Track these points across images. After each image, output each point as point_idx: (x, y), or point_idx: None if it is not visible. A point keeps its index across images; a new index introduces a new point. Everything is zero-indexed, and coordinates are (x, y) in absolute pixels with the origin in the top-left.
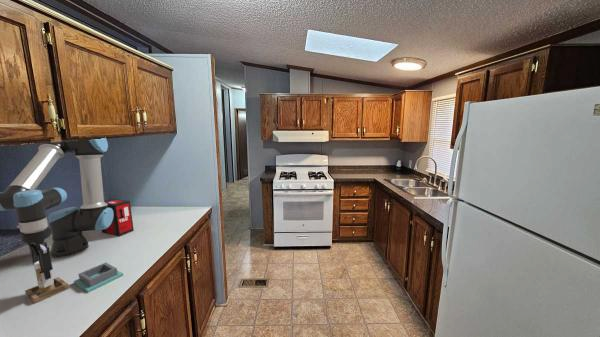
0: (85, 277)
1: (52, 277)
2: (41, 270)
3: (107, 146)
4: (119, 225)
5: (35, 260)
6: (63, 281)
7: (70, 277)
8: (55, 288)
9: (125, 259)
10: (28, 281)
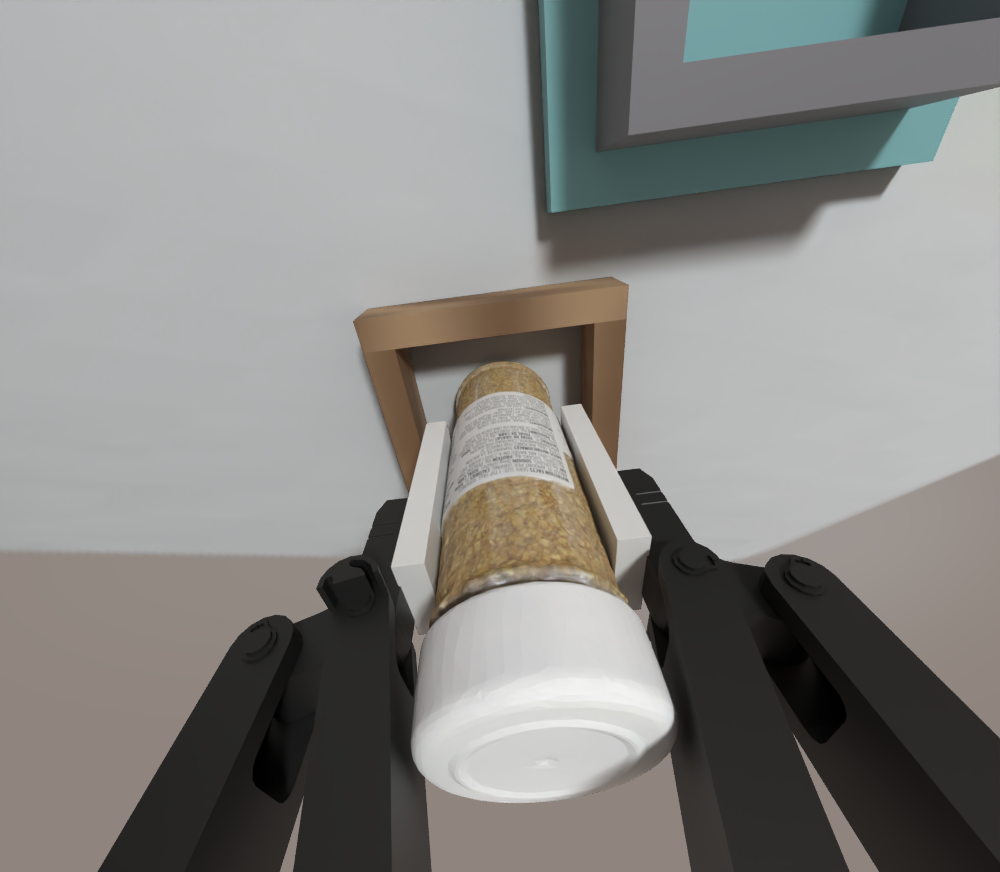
0: (863, 90)
1: (541, 427)
2: (660, 643)
3: None
4: None
5: (425, 841)
6: (518, 306)
7: (362, 204)
8: (598, 382)
9: None
10: (178, 467)
